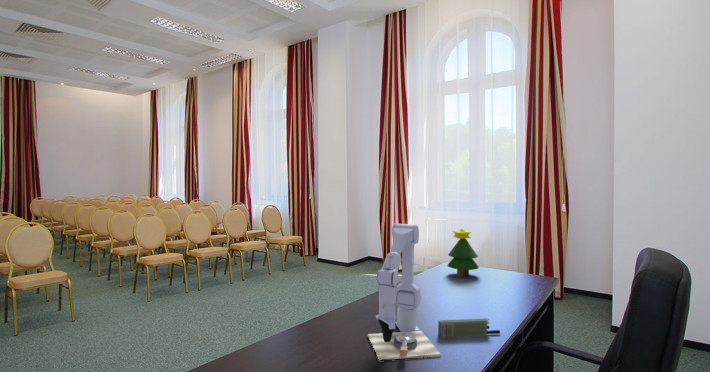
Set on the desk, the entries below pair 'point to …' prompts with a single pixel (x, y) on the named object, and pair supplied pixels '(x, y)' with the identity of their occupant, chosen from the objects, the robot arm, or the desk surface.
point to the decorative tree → (462, 255)
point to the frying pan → (404, 341)
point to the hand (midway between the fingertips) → (387, 341)
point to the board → (395, 352)
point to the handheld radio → (464, 328)
